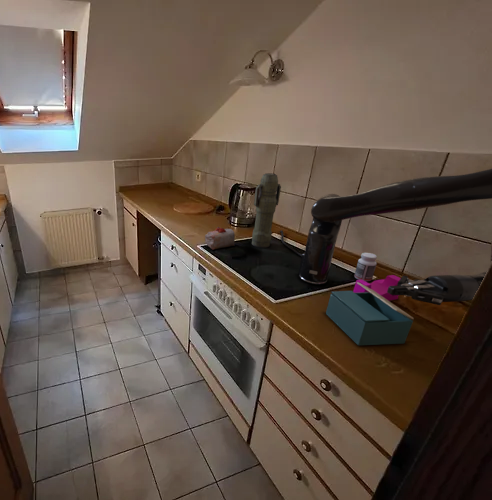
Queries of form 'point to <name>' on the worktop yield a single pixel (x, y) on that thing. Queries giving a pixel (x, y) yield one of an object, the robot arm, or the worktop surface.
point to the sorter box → (367, 318)
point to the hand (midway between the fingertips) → (390, 290)
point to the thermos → (265, 209)
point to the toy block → (379, 286)
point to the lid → (385, 301)
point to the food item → (220, 238)
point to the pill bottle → (366, 267)
